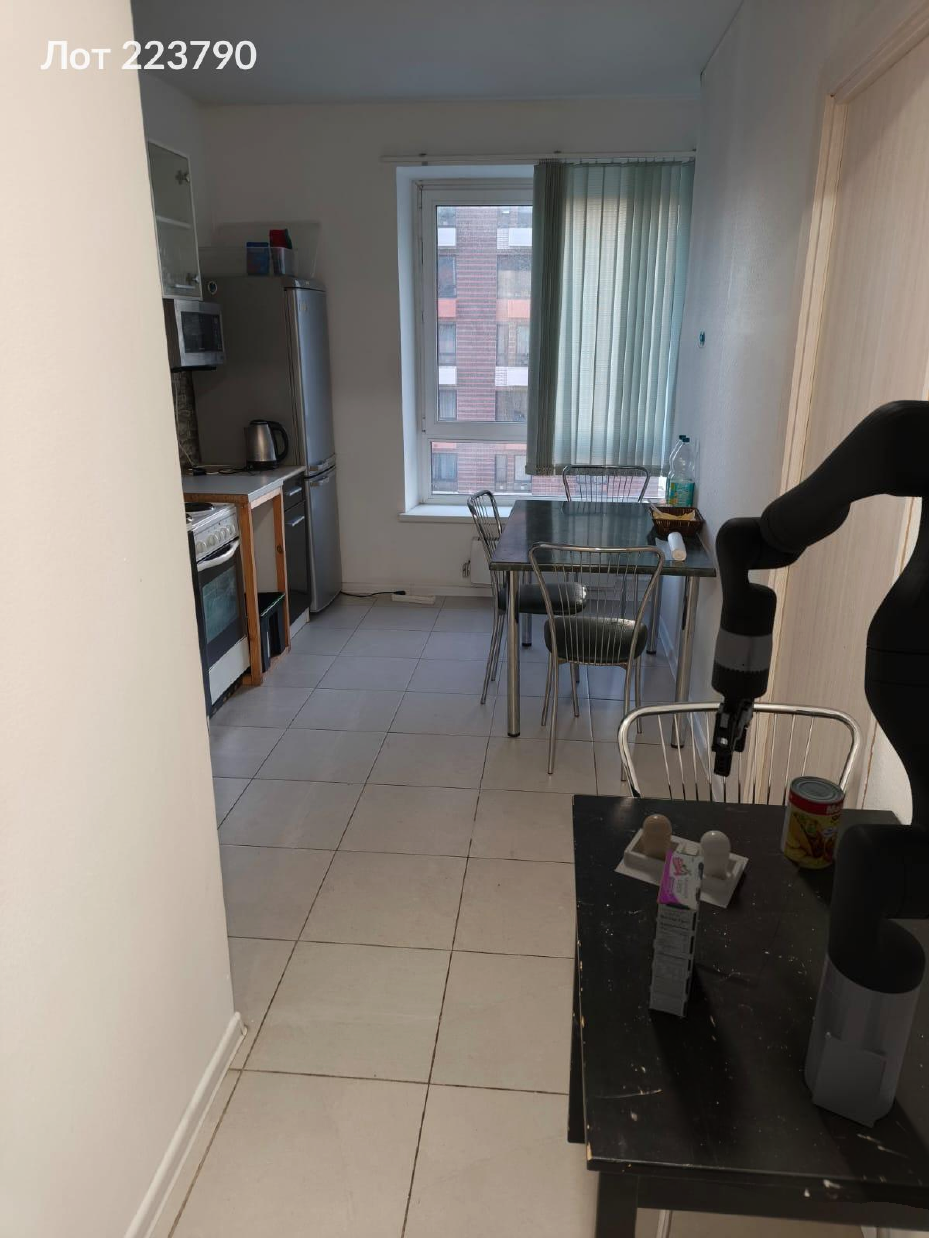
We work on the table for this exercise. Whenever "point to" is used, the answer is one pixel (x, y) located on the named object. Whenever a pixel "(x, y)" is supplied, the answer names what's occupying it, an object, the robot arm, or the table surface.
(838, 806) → the canned food
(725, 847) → the white capsule
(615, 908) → the table surface
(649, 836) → the tan capsule
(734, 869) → the white holder tray
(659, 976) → the candy bar box
